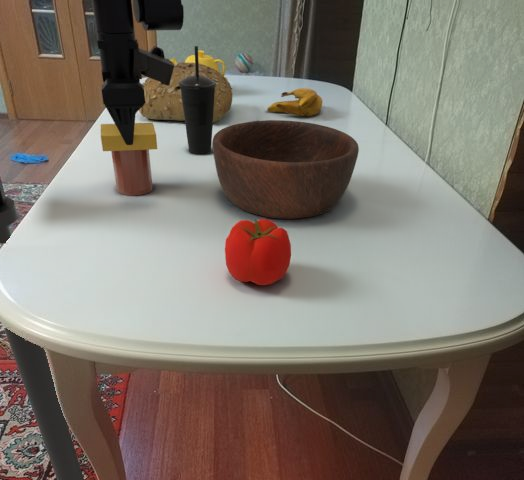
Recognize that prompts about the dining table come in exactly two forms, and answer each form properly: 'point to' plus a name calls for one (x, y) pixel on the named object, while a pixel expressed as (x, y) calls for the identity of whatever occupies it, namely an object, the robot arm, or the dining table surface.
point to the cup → (132, 171)
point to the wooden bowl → (284, 167)
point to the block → (141, 140)
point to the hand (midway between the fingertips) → (128, 137)
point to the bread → (170, 99)
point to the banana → (299, 103)
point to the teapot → (205, 61)
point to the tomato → (257, 251)
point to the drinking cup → (198, 110)
